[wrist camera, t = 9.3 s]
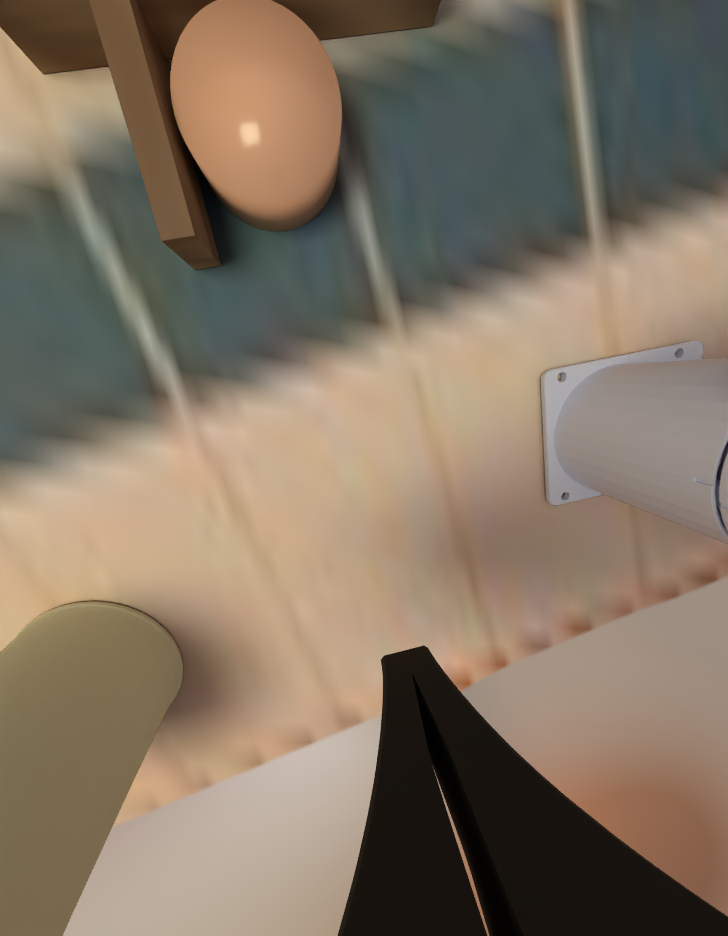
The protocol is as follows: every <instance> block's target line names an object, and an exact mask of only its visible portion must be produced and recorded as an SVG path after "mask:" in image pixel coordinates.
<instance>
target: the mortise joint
mask: <svg viewBox="0 0 728 936" xmlns="http://www.w3.org/2000/svg"><path fill="white" fill-rule="evenodd" d="M214 1H216V0H0V27H1V28H2V29H3V30H4V32H5V33H6V34H7V35H8V36H9V37H10V38H11V39H12V40H13V41H14V43H15V44H16V45H17V46H18V47H19V48H20V49H21V50H22V51H23V52H24V54H25V55H26V56H27V57H28V58H29V59H30V60H31V61H32V62H33V63H34V65H35V66H36V67H37V68H38V69H39V70H40V71H41V72H42V73H43V74H45V73H53V72H61V71H70V70H78V69H86V68H94V67H102V66H109V68H110V72H111V75H112V78H113V81H114V85H115V88H116V91H117V95H118V98H119V101H120V105H121V108H122V111H123V115H124V118H125V121H126V124H127V128H128V131H129V134H130V138H131V141H132V144H133V148H134V151H135V154H136V157H137V161H138V164H139V167H140V171H141V174H142V177H143V181H144V184H145V187H146V191H147V194H148V197H149V200H150V204H151V207H152V210H153V214H154V217H155V220H156V224H157V227H158V230H159V234H160V237H161V240H162V241H163V242H164V243H165V244H166V245H167V246H168V247H169V248H171V249H172V250H173V251H174V252H175V253H176V254H177V255H179V256H180V257H181V258H182V259H183V260H184V261H185V262H187V263H188V264H189V265H190V266H191V267H192V268H193V269H195V270H199V269H205V268H211V267H217V266H221V262H220V259H219V255H218V251H217V247H216V243H215V240H214V236H213V232H212V228H211V225H210V221H209V217H208V213H207V210H206V206H205V202H204V198H203V195H202V191H201V187H200V183H199V180H198V176H197V172H196V168H195V164H194V161H193V157H192V154H191V152H190V150H189V148H188V147H187V145H186V143H185V141H184V139H183V137H182V135H181V132H180V130H179V127H178V124H177V121H176V118H175V115H174V110H173V106H172V100H171V90H170V70H169V67H168V63H167V59H168V58H173V55H174V51H175V48H176V45H177V43H178V40H179V38H180V36H181V34H182V32H183V30H184V29H185V27H186V25H187V24H188V23H189V22H190V20H191V19H192V18H193V17H194V16H195V15H196V14H197V13H198V12H199V11H200V10H201V9H202V8H204V7H205V6H207V5H209V4H210V3H212V2H214ZM272 1H274V2H276V3H278V4H280V5H282V6H284V7H285V8H287V9H288V10H290V11H291V12H293V13H294V14H295V15H297V16H298V17H299V18H300V19H301V20H302V21H304V23H305V24H306V25H307V26H308V27H309V28H310V29H311V30H312V31H313V33H314V34H315V35H316V37H317V38H318V39H319V40H323V39H331V38H339V37H347V36H355V35H363V34H372V33H380V32H388V31H396V30H404V29H412V28H421V27H429V26H433V23H434V20H435V17H436V13H437V10H438V7H439V4H440V1H441V0H272Z"/></svg>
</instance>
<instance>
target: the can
mask: <svg viewBox="0 0 728 936" xmlns="http://www.w3.org/2000/svg"><path fill="white" fill-rule="evenodd" d="M182 678H183V662H182V657H181V654H180V651H179V649H178V647H177V645H176V643H175V641H174V640H173V638H172V637H171V635H170V634H169V633H168V632H167V631H166V630H165V629H164V628H163V627H162V626H161V625H160V624H159V623H158V622H156V621H155V620H153V619H152V618H150V617H149V616H147V615H145V614H144V613H142V612H140V611H137V610H135V609H132V608H130V607H127V606H123V605H119V604H115V603H108V602H98V601H88V602H77V603H71V604H66V605H63V606H59V607H57V608H54V609H51V610H49V611H47V612H45V613H43V614H41V615H40V616H38V617H36V618H35V619H34V620H32V621H31V622H30V623H29V624H27V625H26V626H25V627H24V628H23V629H22V630H21V632H20V633H19V634H18V635H17V637H16V638H15V639H14V640H13V641H12V642H11V643H10V644H8V645H7V646H6V647H5V648H4V649H3V650H2V651H1V652H0V936H63V933H64V931H65V929H66V927H67V924H68V922H69V920H70V917H71V915H72V913H73V911H74V909H75V907H76V905H77V902H78V900H79V898H80V896H81V894H82V891H83V889H84V887H85V885H86V882H87V881H88V878H89V876H90V874H91V872H92V870H93V868H94V865H95V863H96V861H97V859H98V857H99V854H100V852H101V850H102V848H103V846H104V844H105V841H106V839H107V837H108V835H109V832H110V830H111V828H112V826H113V824H114V822H115V820H116V817H117V815H118V813H119V811H120V809H121V807H122V804H123V802H124V800H125V798H126V796H127V794H128V791H129V789H130V787H131V785H132V783H133V780H134V778H135V776H136V774H137V772H138V770H139V768H140V766H141V764H142V761H143V759H144V757H145V755H146V753H147V751H148V749H149V747H150V745H151V742H152V740H153V738H154V736H155V734H156V732H157V730H158V728H159V726H160V724H161V722H162V719H163V717H164V715H165V713H166V711H167V710H168V708H169V706H170V705H171V703H172V702H173V701H174V699H175V697H176V696H177V694H178V692H179V689H180V686H181V683H182Z"/></svg>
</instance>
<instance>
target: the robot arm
mask: <svg viewBox="0 0 728 936" xmlns="http://www.w3.org/2000/svg"><path fill="white" fill-rule="evenodd" d="M676 351H677V354H676V356H675V353H676ZM702 356H703V345H702V343H701V342H700V341H689V342H684V343H679V344H674V345H669V346H664V347H659V348H654V349H649V350H644V351H639V352H634V353H629V354H624V355H619V356H614V357H609V358H604V359H599V360H594V361H589V362H584V363H579V364H574V365H569V366H564V367H559V368H554V369H549V370H547V371H545V372H544V373H543V374H542V376H541V397H542V420H543V442H544V464H545V486H546V500H547V502H548V503H550V504H552V505H554V506H557V505H562V504H566V503H570V502H575V501H579V500H583V499H588V498H592V497H596V496H601V495H607V496H610V497H612V498H615V499H617V500H620V501H622V502H625V503H627V504H630V505H632V506H635V507H637V508H640V509H642V510H645V511H647V512H649V513H652V514H654V515H657V516H659V517H662V518H664V519H667V520H669V521H672V522H674V523H677V524H679V525H682V526H684V527H687V528H689V529H691V530H694V531H696V532H699V533H701V534H704V535H706V536H709V537H711V538H714V539H716V540H719V541H721V542H724V543H726V544H728V357H725V358H707V359H702ZM559 373H561V376H562V377H561V380H560V381H558V379H557V377H558V375H559ZM563 493H565V495H564V497H563V498H561V496H562V494H563ZM381 664H382V672H383V706H382V720H381V732H380V742H379V749H378V756H377V765H376V771H375V778H374V784H373V790H372V795H371V801H370V806H369V811H368V816H367V821H366V826H365V830H364V835H363V839H362V844H361V848H360V853H359V857H358V861H357V866H356V870H355V874H354V878H353V882H352V886H351V889H350V893H349V897H348V900H347V904H346V908H345V912H344V915H343V918H342V922H341V926H340V929H339V933H338V936H487V933H486V930H485V928H484V924H483V921H482V918H481V915H480V912H479V909H478V906H477V903H476V900H475V897H474V894H473V891H472V888H471V885H470V882H469V879H468V875H467V873H466V870H465V867H464V863H463V860H462V857H461V854H460V851H459V848H458V845H457V842H456V838H455V835H454V832H453V829H452V826H451V823H450V820H449V817H448V813H447V811H446V807H445V804H444V801H443V798H442V794H441V791H440V788H439V785H438V782H437V779H438V781H439V784H440V786H441V789H442V792H443V795H444V798H445V800H446V803H447V806H448V808H449V811H450V814H451V817H452V820H453V822H454V825H455V828H456V830H457V833H458V836H459V838H460V841H461V844H462V847H463V850H464V853H465V856H466V859H467V862H468V865H469V868H470V871H471V874H472V878H473V881H474V884H475V888H476V891H477V895H478V898H479V901H480V905H481V908H482V911H483V915H484V918H485V922H486V925H487V928H488V932H489V935H490V936H728V917H727V916H726V915H725V914H723V913H721V912H720V911H719V910H717V909H716V908H714V907H713V906H711V905H710V904H709V903H707V902H706V901H704V900H703V899H701V898H700V897H698V896H697V895H695V894H694V893H692V892H691V891H690V890H688V889H686V888H685V887H684V886H682V885H681V884H680V883H678V882H677V881H676V880H674V879H673V878H671V877H670V876H669V875H667V874H666V873H664V872H663V871H661V870H660V869H659V868H657V867H656V866H654V865H653V864H652V863H650V862H649V861H648V860H646V859H645V858H644V857H642V856H641V855H640V854H638V853H637V852H635V851H634V850H633V849H631V848H630V847H629V846H628V845H626V844H625V843H624V842H622V841H621V840H620V839H618V838H617V837H616V836H614V835H613V834H612V833H611V832H609V831H608V830H607V829H606V828H605V827H603V826H602V825H601V824H599V823H598V822H597V821H596V820H595V819H593V818H592V817H591V816H590V815H588V814H587V813H586V812H585V811H583V810H582V809H581V808H580V807H578V806H577V805H576V804H574V803H573V802H572V801H571V800H570V799H569V798H567V797H566V796H565V795H564V794H563V793H561V792H560V791H559V790H558V789H557V788H556V787H555V786H553V785H552V784H551V783H550V782H549V781H548V780H546V779H545V778H544V777H543V776H542V775H541V774H539V772H537V771H536V770H535V769H534V768H533V767H532V766H531V765H530V764H529V763H528V762H527V761H526V760H524V759H523V758H522V757H521V756H520V755H519V754H518V753H517V752H516V751H515V750H514V749H513V748H512V747H511V746H510V745H509V744H508V743H507V742H506V741H505V740H504V739H503V738H502V737H501V736H500V735H499V734H498V733H497V732H496V731H495V730H494V729H493V728H492V727H491V726H490V725H489V724H488V723H487V721H486V720H485V719H484V718H483V717H482V716H481V715H480V714H479V713H478V712H477V711H476V709H475V708H474V707H473V706H472V705H471V704H470V702H468V700H467V699H466V698H465V697H464V696H463V695H462V693H461V692H460V691H459V690H458V688H457V687H456V686H455V685H454V684H453V682H452V681H451V680H450V679H449V677H448V676H447V675H446V673H445V672H444V671H443V669H442V668H441V667H440V665H439V664H438V663H437V661H436V660H435V658H434V657H433V655H432V654H431V652H430V651H429V649H428V648H427V647H425V646H420V647H417V648H413V649H409V650H405V651H401V652H397V653H393V654H389V655H386V656H384V657H383V658H382V659H381ZM432 765H433V766H432ZM433 768H434V769H433ZM434 770H435V772H434ZM435 773H436V776H437V779H436V776H435Z"/></svg>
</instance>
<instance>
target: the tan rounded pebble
mask: <svg viewBox="0 0 728 936" xmlns="http://www.w3.org/2000/svg"><path fill="white" fill-rule="evenodd" d="M170 90H171V100H172V106H173V110H174V115H175V118H176V121H177V124H178V127H179V130H180V132H181V135H182V137H183V139H184V141H185V143H186V145H187V147H188V148H189V150H190V152H191V154H192V155H193V157H194V159H195V161H196V162H197V164H198V166H199V168H200V169H201V171H202V173H203V175H204V176H205V178H206V180H207V182H208V183H209V185H210V187H211V189H212V190H213V192H214V194H215V195H216V196H217V198H218V199H219V201H220V202H221V203H222V204H223V205H224V206H225V207H226V209H227V210H228V211H230V212H231V213H232V214H233V215H234V216H235V217H237V218H238V219H240V220H241V221H243V222H245V223H247V224H248V225H250V226H253V227H255V228H258V229H262V230H266V231H276V232H280V231H288V230H292V229H296V228H298V227H301V226H303V225H305V224H306V223H308V222H310V221H311V220H312V219H313V218H315V217H316V216H317V215H318V214H319V213H320V212H321V210H322V209H323V208H324V206H325V205H326V203H327V202H328V200H329V198H330V196H331V194H332V191H333V189H334V186H335V182H336V177H337V170H338V160H339V148H340V136H341V124H342V104H341V94H340V89H339V85H338V80H337V77H336V74H335V71H334V68H333V65H332V63H331V61H330V59H329V56H328V54H327V52H326V51H325V49H324V47H323V46H322V44H321V42H320V41H319V39H318V38H317V37H316V35H315V34H314V33H313V31H312V30H311V29H310V28H309V27H308V26H307V25H306V24H305V23H304V21H302V20H301V19H300V18H299V17H298V16H297V15H295V14H294V13H293V12H291V11H290V10H288V9H287V8H285V7H284V6H282V5H280V4H278V3H276V2H274V1H272V0H216V1H214V2H212V3H210V4H209V5H207V6H205V7H204V8H202V9H201V10H200V11H199V12H198V13H197V14H196V15H195V16H194V17H193V18H192V19H191V20H190V22H189V23H188V24H187V25H186V27H185V29H184V30H183V32H182V34H181V36H180V38H179V40H178V43H177V45H176V48H175V51H174V55H173V59H172V65H171V73H170Z"/></svg>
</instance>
